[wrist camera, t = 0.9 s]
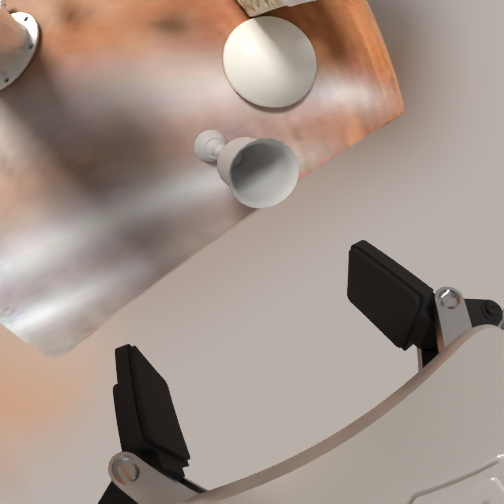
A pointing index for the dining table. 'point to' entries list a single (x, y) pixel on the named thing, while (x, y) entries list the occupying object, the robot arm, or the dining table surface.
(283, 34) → the plate
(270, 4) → the storage basket
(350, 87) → the dining table surface
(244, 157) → the chalice
